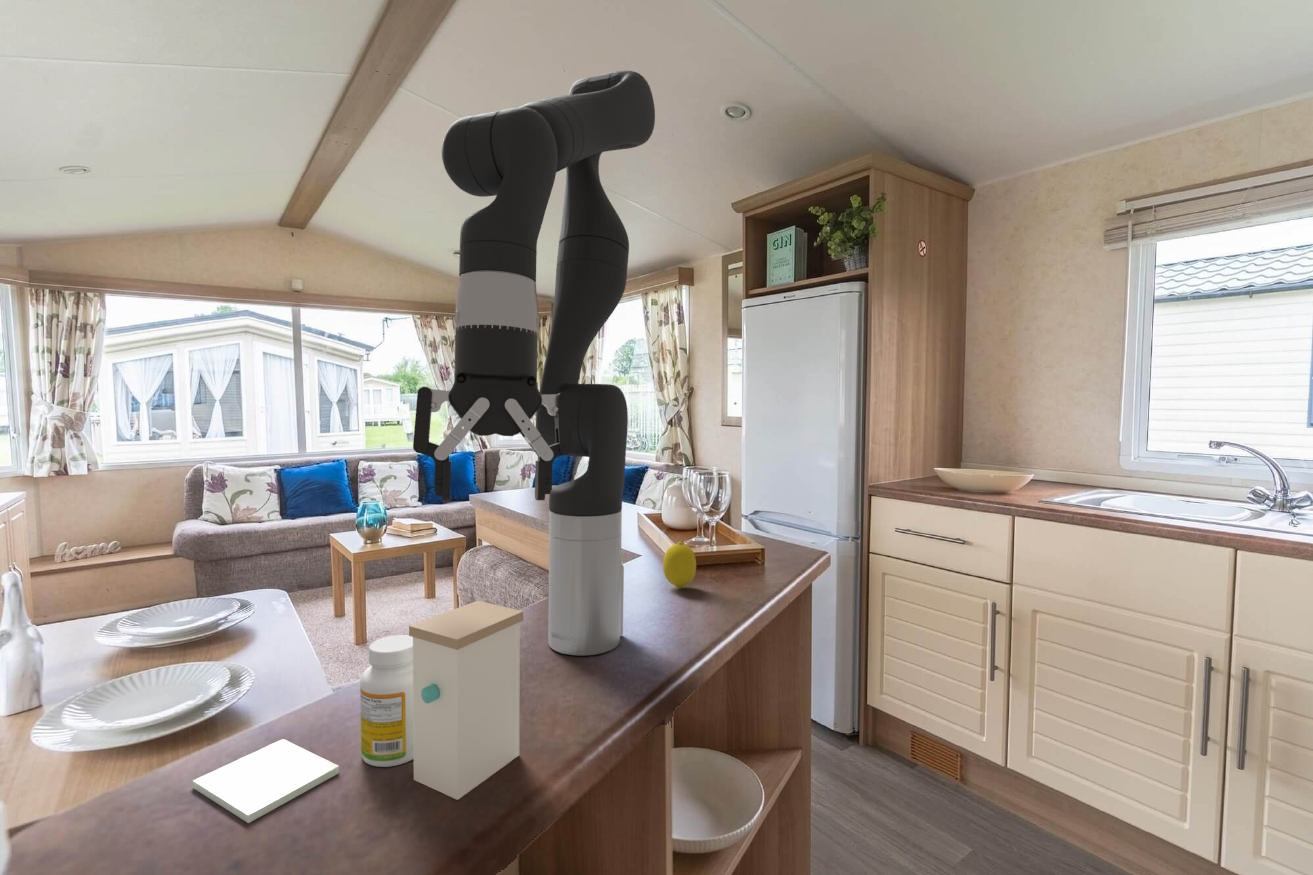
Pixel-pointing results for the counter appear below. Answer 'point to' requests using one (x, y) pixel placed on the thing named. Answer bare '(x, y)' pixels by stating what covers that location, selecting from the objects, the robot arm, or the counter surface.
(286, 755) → the plate
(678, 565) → the lemon
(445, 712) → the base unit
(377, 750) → the supplement bottle
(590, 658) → the counter surface
